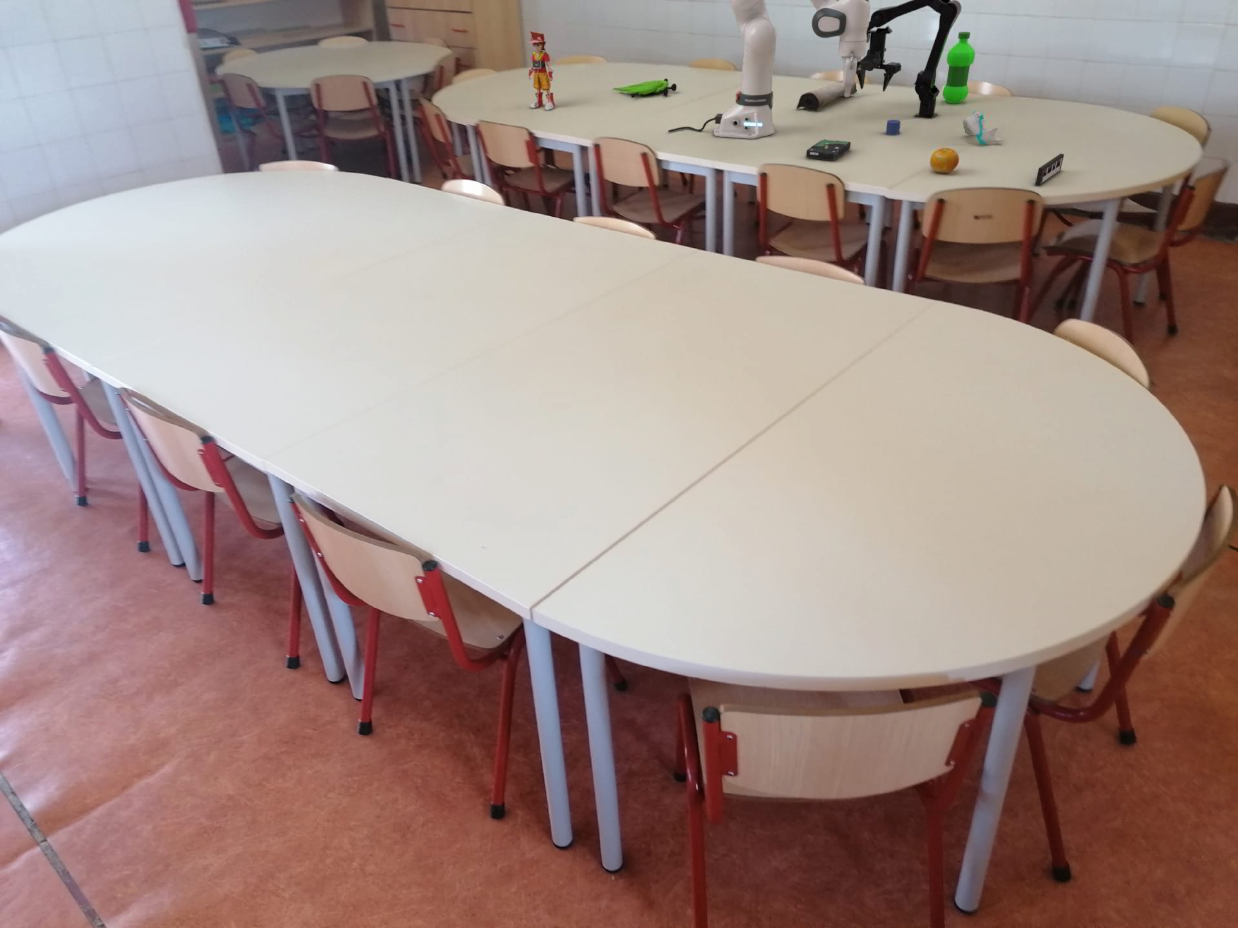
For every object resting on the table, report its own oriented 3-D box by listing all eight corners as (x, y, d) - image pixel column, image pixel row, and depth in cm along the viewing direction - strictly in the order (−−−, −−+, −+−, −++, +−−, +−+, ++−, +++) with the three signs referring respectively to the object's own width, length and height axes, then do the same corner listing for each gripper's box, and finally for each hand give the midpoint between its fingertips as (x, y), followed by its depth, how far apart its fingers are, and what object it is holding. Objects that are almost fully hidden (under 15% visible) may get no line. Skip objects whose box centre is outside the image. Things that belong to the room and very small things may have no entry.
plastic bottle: (973, 101, 354) (984, 32, 339) (955, 106, 349) (966, 36, 335) (952, 97, 361) (962, 29, 346) (934, 102, 356) (944, 33, 342)
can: (897, 135, 321) (899, 123, 319) (884, 134, 323) (886, 122, 321) (900, 132, 325) (901, 120, 322) (887, 131, 326) (888, 119, 324)
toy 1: (525, 109, 381) (517, 32, 364) (534, 104, 388) (527, 28, 371) (550, 110, 377) (543, 32, 360) (559, 105, 384) (553, 28, 367)
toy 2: (686, 85, 398) (631, 84, 414) (685, 72, 395) (629, 72, 411) (651, 104, 381) (596, 103, 397) (650, 92, 378) (594, 91, 394)
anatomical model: (956, 110, 312) (985, 102, 311) (957, 139, 318) (985, 132, 317) (974, 121, 300) (1004, 113, 299) (974, 151, 306) (1003, 144, 305)
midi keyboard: (1039, 185, 269) (1043, 168, 266) (1035, 184, 270) (1038, 168, 267) (1060, 170, 279) (1064, 154, 277) (1056, 169, 280) (1060, 153, 277)
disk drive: (834, 162, 299) (850, 149, 309) (835, 153, 297) (851, 141, 307) (805, 158, 304) (821, 146, 314) (806, 150, 302) (822, 138, 312)
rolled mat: (832, 85, 375) (848, 69, 367) (844, 103, 376) (861, 88, 367) (792, 103, 358) (809, 87, 350) (805, 122, 358) (822, 107, 350)
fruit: (924, 163, 281) (941, 140, 278) (925, 165, 289) (941, 143, 286) (946, 178, 280) (963, 155, 277) (947, 180, 288) (963, 158, 285)
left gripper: (862, 55, 288) (857, 100, 295) (861, 43, 304) (856, 87, 312) (842, 55, 289) (837, 100, 297) (842, 43, 305) (837, 86, 313)
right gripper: (844, 48, 337) (840, 92, 345) (890, 52, 326) (885, 97, 335) (858, 43, 343) (854, 86, 352) (904, 46, 333) (898, 91, 342)
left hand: (846, 93), depth 304 cm, fingers open, 8 cm apart
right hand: (872, 90), depth 345 cm, fingers open, 9 cm apart
